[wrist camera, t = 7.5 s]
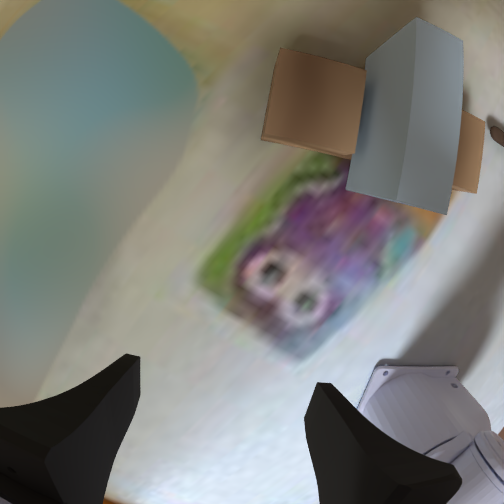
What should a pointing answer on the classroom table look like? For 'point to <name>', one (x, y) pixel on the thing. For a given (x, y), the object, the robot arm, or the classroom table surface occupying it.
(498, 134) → the brown monkey toy
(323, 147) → the brown u-shaped block
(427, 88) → the pale grey-blue block
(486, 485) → the robot arm
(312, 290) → the classroom table surface
